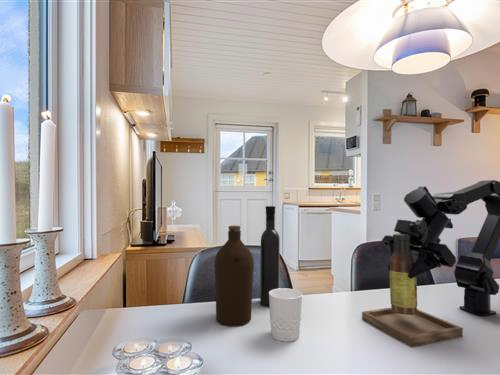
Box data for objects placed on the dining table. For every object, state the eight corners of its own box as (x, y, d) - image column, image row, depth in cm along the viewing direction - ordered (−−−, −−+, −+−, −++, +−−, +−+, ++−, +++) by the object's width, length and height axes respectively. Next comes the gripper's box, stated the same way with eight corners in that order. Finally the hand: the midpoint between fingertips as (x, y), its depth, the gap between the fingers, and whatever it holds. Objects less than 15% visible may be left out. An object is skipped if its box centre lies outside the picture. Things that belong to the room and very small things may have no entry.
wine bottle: (259, 306, 91) (260, 206, 92) (261, 299, 97) (262, 205, 98) (278, 307, 90) (279, 206, 91) (279, 300, 96) (279, 206, 97)
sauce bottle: (422, 316, 75) (421, 236, 75) (396, 315, 76) (395, 236, 76) (410, 306, 82) (409, 232, 82) (386, 306, 82) (385, 232, 82)
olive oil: (261, 320, 81) (262, 226, 81) (229, 331, 74) (230, 229, 75) (237, 308, 89) (237, 223, 90) (206, 318, 82) (207, 225, 83)
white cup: (301, 345, 68) (301, 299, 68) (266, 341, 69) (266, 297, 69) (302, 329, 75) (302, 289, 76) (270, 326, 77) (271, 287, 77)
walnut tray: (407, 312, 87) (407, 305, 87) (462, 336, 72) (462, 328, 72) (362, 319, 82) (362, 311, 82) (411, 347, 67) (411, 337, 67)
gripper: (386, 207, 89) (356, 247, 85) (446, 210, 72) (412, 261, 68) (406, 233, 92) (378, 273, 88) (470, 242, 74) (438, 292, 70)
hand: (398, 274), depth 78 cm, fingers closed on sauce bottle, 6 cm apart
